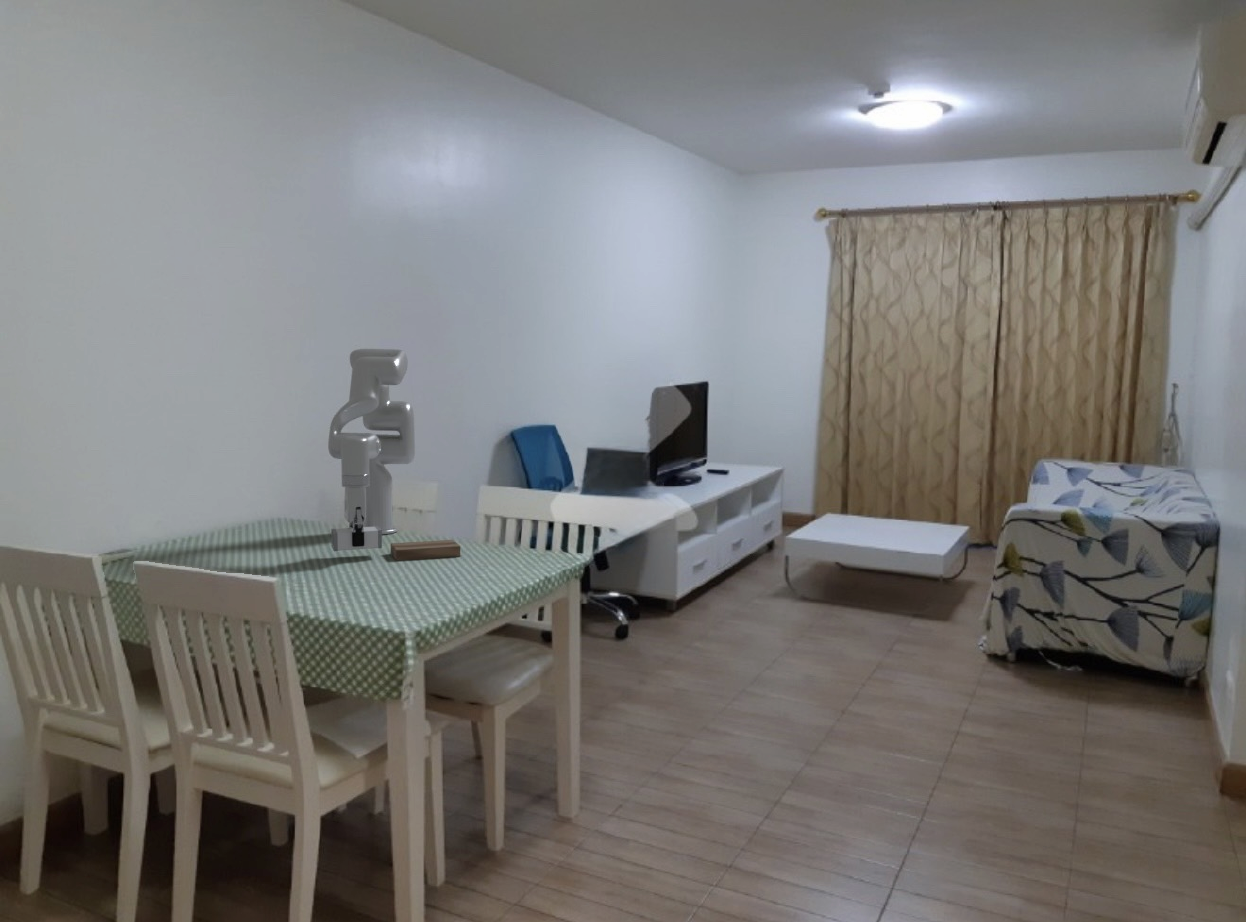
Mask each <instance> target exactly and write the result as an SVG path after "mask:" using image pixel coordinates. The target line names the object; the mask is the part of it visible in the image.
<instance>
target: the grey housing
mask: <svg viewBox="0 0 1246 922" xmlns="http://www.w3.org/2000/svg"><path fill="white" fill-rule="evenodd" d="M363 528H364V546H359V547H353V546H352V532H353V528H351V527H344V528H330V530H331V531H330V532H331V533H330V538H331V545H330V546H331V548H332V550H333V552H340V551H352V550H353V551H354V550H355V551H357V550H367V549H369V550H370V549H382V548H383V534H382V530H381V529H380V528H379V526H375V527H363Z"/></svg>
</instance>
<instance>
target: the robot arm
mask: <svg viewBox="0 0 1246 922" xmlns="http://www.w3.org/2000/svg"><path fill="white" fill-rule="evenodd" d="M349 362H350V363H349V365H350V367H351V380H350V387H349V389H350V390H349V399H348V401H347V402H346V403H345V404H344V405H343V406H342V407H340V408H339V409H338V411H337V412H336V414H334V416H333V417H332V419H331V422H330V427H329V432H328V433H329V435H328V443H327V445H328V452H329V454H330V456H331V457H332V458H333V459H336V460H341V462H340V463H341V487H343V488H344V505H343V506H344V509H343V511H344V514H343V515H344V519H345V520H346V522H347V523H349V524H348V526H349V527H348V528H353V532H352V546H353V547H359V546H364V528H363V527H375V526H379V528H380V529H381V530H382V535H391V534H394V533H396V532H398V526H395V525H394V524H393V523H394V521H393V512H394V511H393V510H394V509H393V477H392V476H393V475H392V474H391V473H390V471H389V470H388V468H386V466H385V465H408V464H411V463H412V462H413V461H414V458H415V454H416V448H415V447H416V446H415V444H416V443H415V417H414V416H415V414H414V409H413V406H412V404H411V403H409V402H407V401H402V400H401V401H400V400H397V401H396V400H390V386H398V385H400V384H402V382H403V379H404V377H405V375H406V373H407V372H408V366H409V365H408V357H407V354H406V352H405V351H404V350H401V349H397V348H396V349H394V348H393V349H391V348H389V349H388V348H387V349H386V348H360V349H354V350H353V351H350V354H349ZM361 417H362V423H363V426H364V427H365V429H366V430H370V431H377V432H381V431H382V432H385V431H386V432H398V433H399V434H387V433H386V434H379V433H378V434H374V433H369V432H362V433H361V432H342V430H343V429H344V427H345V426H346V425H348V423H350V422H352V421H354V420H356V419H358V418H359V419H360V418H361Z"/></svg>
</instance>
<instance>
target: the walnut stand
mask: <svg viewBox="0 0 1246 922" xmlns="http://www.w3.org/2000/svg"><path fill="white" fill-rule="evenodd" d="M390 555H391V556H392V557H393V558H394V559H395V561H408V560H409V561H413V560H422V559H423V560H427V559H441V558H443V559H445V558H457V557H461V545H460V544H458V543H457V542H456V541H454V540H453V539H449V540H448V539H444V540H426V541H411V542H408V541H407V542H394V543H393V542H392V543H390Z"/></svg>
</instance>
